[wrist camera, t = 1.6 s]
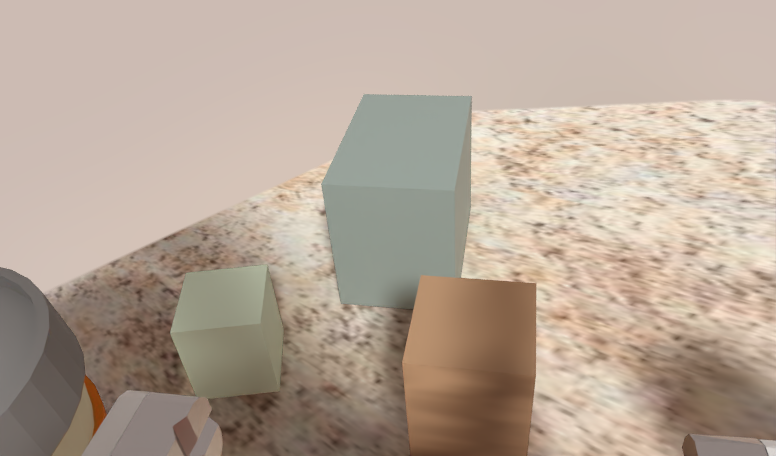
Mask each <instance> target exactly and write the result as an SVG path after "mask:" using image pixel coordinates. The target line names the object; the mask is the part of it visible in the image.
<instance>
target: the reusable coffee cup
mask: <svg viewBox="0 0 776 456" xmlns="http://www.w3.org/2000/svg"><path fill="white" fill-rule="evenodd" d="M106 416H107V415H106V412H105V409H104V406H103V402H102V400H101V398H100V396H99V393H98V391H97V389H96V387H95V385H94V384H93V382H92V381H91V380H90V379H89V378H88V377H87V376H86V375H85V366H84V356H83V352H82V350H81V347H80V345H79V343H78V341H77V339H76V336H75V335H74V334H73V332H72V331H71V330H70V328H69V327H68V326H67V324H66V323H65V322H64V320H63V319H62V318H61V317H60V315H59V314H58V313H57V311H56V310H55V309H54V307H53V306H52V305H51V303H50V302H49V301H48V300H47V298H46V297H45V296H44V294H43V293H42V292H41V291H40V290H39V289H38V288H37V287H36V286H35V285H34V284H33V283H32V282H31V280H29V279H28V278H26V277H24V276H22V275H20V274H18V273H17V272H15V271H13V270H10V269H5V268H1V267H0V456H81V455H82V454H83V452H84V450H85V449H86V447H87V446H88V444H89V443H90V441H91V439H92V438H93V436H94V435H95V433H96V431H97V430H98V428H99V427H100V425H101V424H102V422H103V420H104V419H105V417H106Z"/></svg>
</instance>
